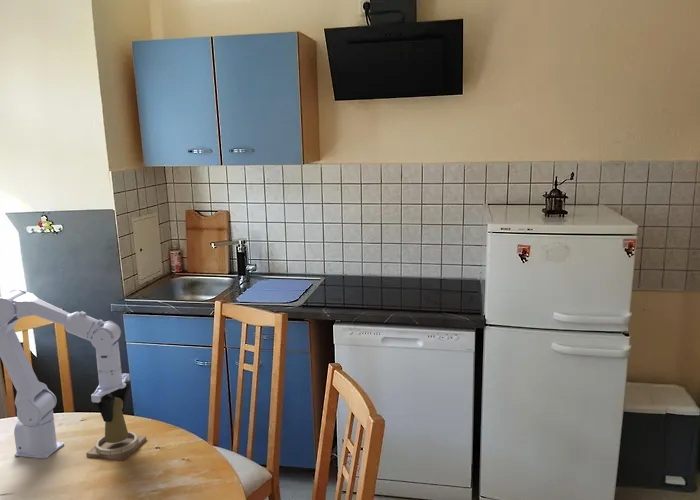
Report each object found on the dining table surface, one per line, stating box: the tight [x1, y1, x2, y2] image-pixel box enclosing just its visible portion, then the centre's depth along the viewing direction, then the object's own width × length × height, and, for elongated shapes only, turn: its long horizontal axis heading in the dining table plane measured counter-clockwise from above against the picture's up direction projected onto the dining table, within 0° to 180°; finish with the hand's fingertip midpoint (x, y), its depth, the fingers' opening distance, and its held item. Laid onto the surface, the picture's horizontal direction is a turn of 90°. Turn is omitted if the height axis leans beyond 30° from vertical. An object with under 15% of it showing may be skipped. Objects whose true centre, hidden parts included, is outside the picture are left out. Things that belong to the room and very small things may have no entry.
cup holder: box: [85, 430, 147, 461], centre depth 161 cm, size 11×11×2 cm
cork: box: [104, 397, 128, 443], centre depth 160 cm, size 6×6×11 cm
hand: (114, 416), depth 159 cm, fingers closed on cork, 5 cm apart
